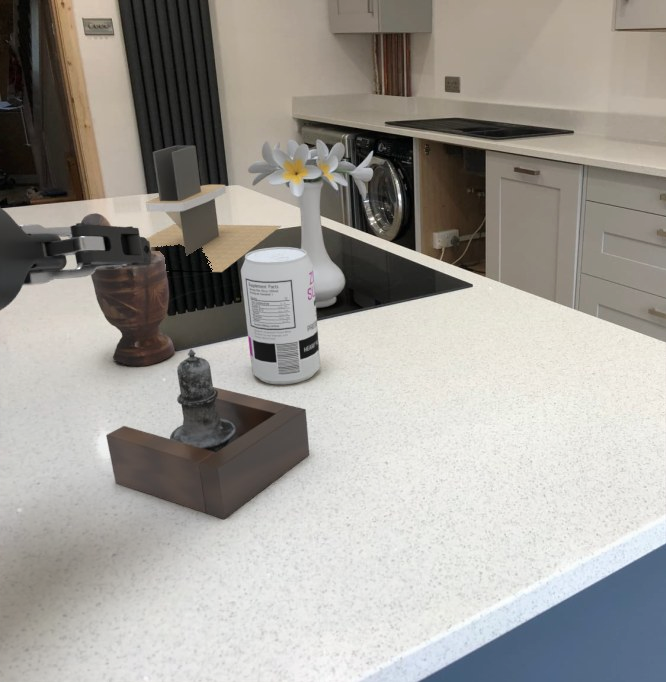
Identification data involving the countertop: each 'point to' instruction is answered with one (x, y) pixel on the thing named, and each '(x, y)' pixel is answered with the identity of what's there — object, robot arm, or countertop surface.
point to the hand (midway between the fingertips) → (97, 259)
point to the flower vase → (313, 200)
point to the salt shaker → (200, 408)
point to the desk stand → (215, 456)
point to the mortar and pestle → (134, 306)
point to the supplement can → (281, 314)
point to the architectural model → (197, 212)
